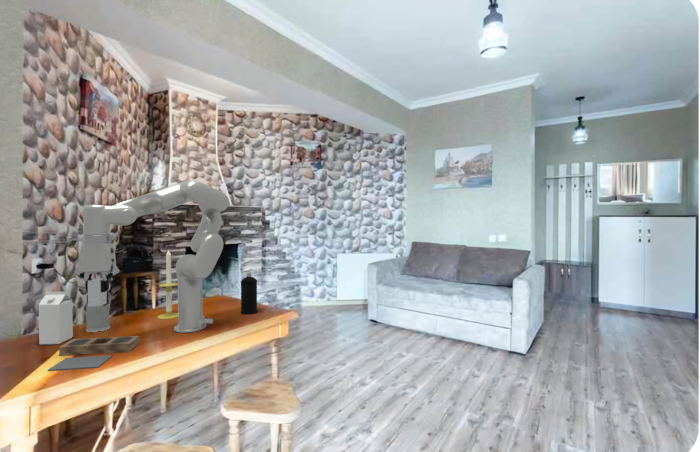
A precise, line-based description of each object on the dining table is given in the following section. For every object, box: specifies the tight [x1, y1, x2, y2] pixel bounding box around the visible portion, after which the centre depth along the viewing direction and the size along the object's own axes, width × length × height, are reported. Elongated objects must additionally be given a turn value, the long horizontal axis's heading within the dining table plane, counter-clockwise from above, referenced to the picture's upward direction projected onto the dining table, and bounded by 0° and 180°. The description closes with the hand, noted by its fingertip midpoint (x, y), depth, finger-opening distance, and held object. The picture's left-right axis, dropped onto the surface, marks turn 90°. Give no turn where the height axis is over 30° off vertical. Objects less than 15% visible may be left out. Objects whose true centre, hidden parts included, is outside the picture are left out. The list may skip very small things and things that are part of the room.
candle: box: [157, 248, 178, 320], centre depth 166 cm, size 10×10×32 cm
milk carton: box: [38, 291, 74, 345], centre depth 133 cm, size 7×7×19 cm
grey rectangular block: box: [87, 278, 107, 306], centre depth 122 cm, size 4×4×9 cm
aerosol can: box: [239, 271, 258, 315], centre depth 174 cm, size 8×8×20 cm
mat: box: [47, 354, 113, 372], centre depth 113 cm, size 14×9×1 cm, turn 100°
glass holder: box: [85, 292, 112, 333], centre depth 150 cm, size 9×14×15 cm, turn 9°
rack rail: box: [58, 335, 140, 357], centre depth 125 cm, size 22×8×3 cm, turn 100°
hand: (97, 291), depth 122 cm, fingers closed on grey rectangular block, 4 cm apart
